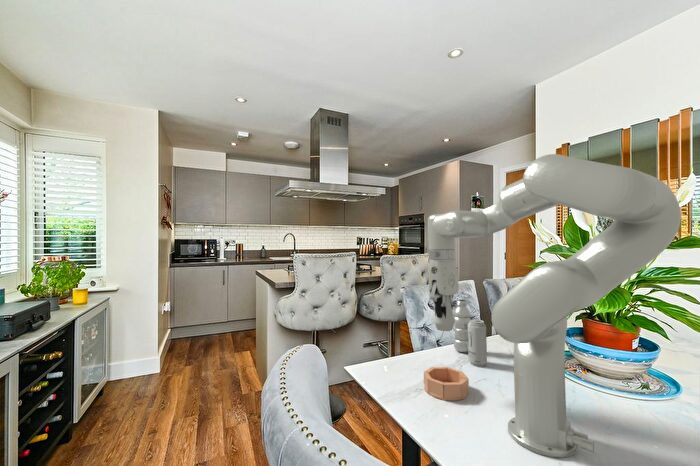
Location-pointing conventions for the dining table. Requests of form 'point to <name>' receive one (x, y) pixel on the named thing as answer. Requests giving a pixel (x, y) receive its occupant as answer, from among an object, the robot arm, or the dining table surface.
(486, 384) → the dining table surface
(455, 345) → the plastic bottle
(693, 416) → the dining table surface
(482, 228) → the robot arm
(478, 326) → the energy drink can
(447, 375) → the octagonal orange bowl
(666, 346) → the dining table surface
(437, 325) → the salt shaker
